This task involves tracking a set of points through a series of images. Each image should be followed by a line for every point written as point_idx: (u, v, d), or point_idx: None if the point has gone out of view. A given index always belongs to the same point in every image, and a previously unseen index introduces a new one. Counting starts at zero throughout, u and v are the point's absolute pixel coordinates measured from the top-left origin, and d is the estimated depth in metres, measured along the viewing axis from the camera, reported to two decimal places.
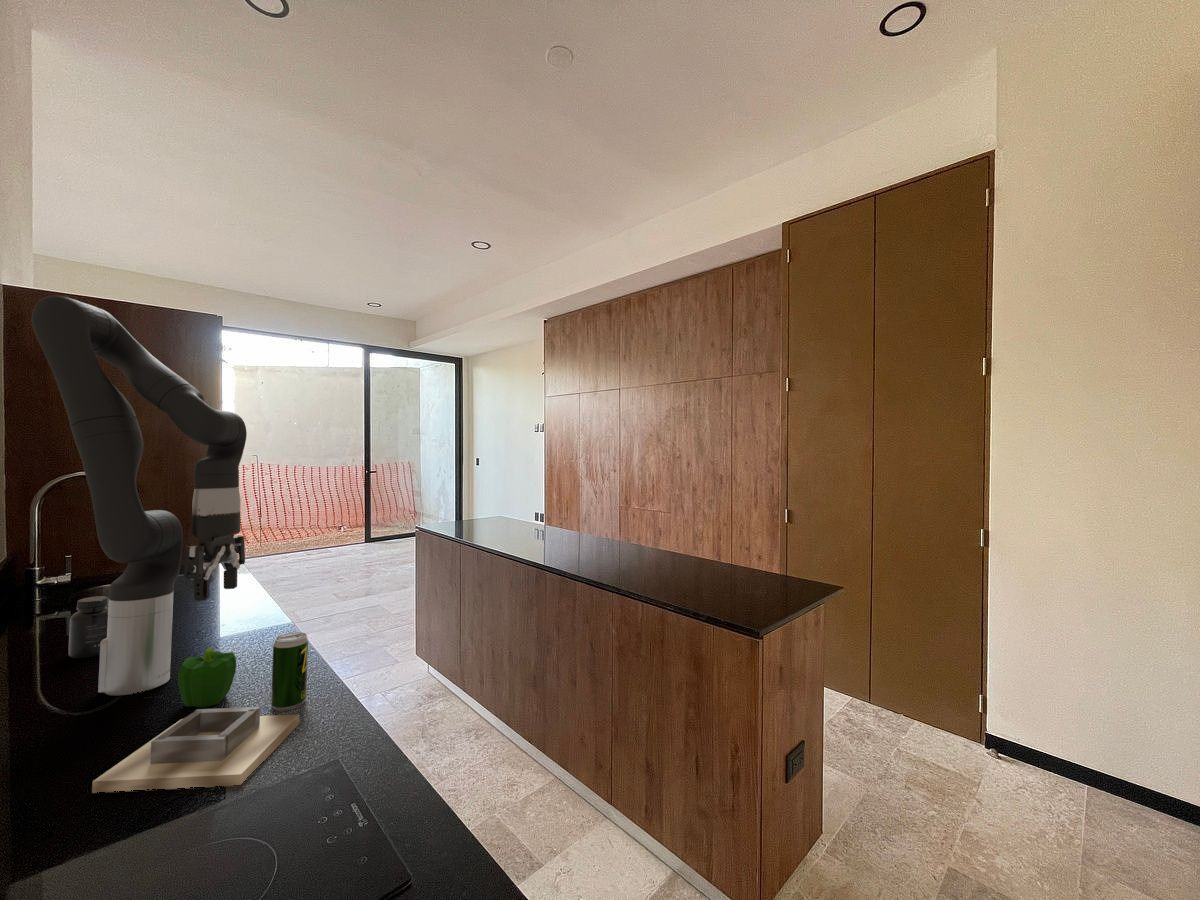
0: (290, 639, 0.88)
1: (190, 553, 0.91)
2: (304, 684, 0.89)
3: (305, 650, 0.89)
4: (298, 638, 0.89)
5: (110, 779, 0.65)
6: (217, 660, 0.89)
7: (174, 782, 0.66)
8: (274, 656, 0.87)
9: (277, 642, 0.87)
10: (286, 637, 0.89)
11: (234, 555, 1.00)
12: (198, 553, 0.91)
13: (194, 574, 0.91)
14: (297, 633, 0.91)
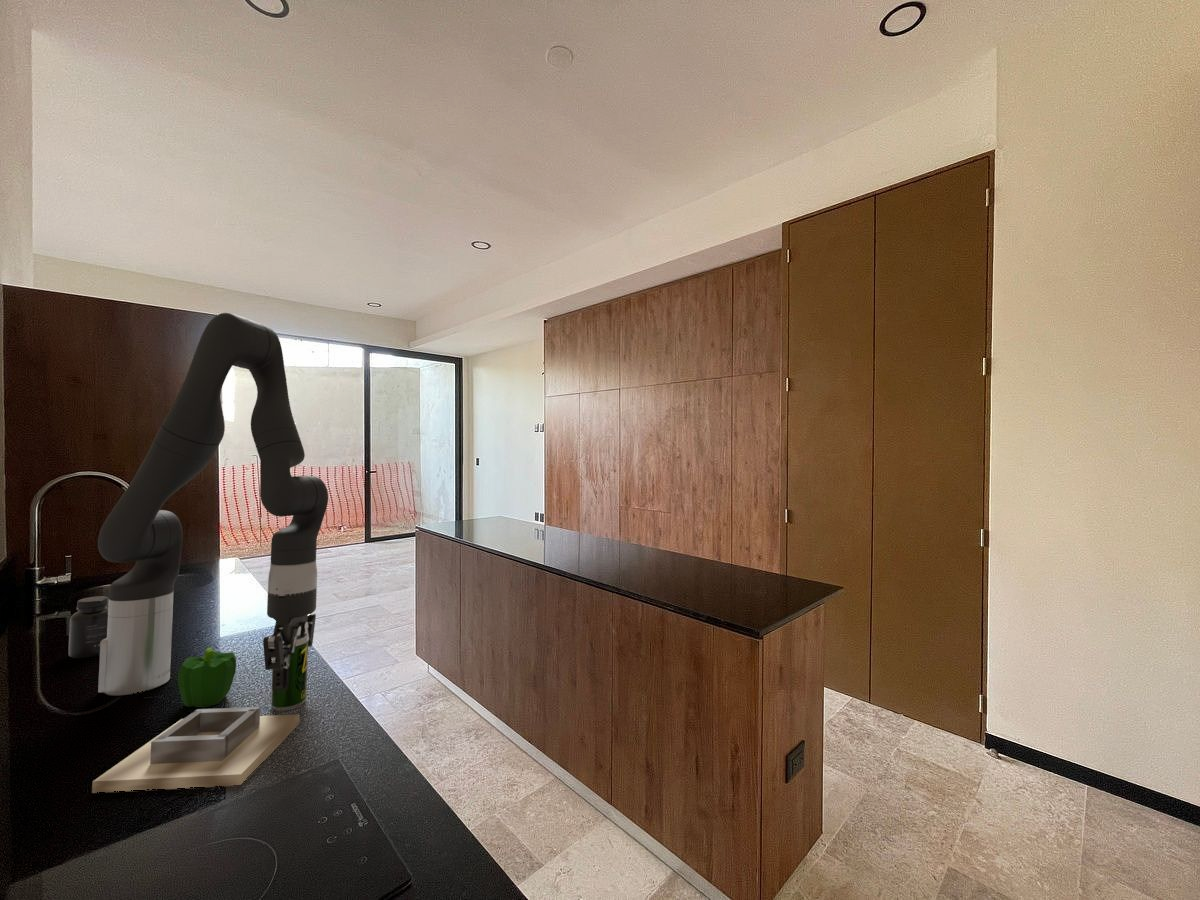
0: None
1: (269, 645, 0.83)
2: (304, 684, 0.89)
3: (305, 650, 0.89)
4: (298, 638, 0.89)
5: (110, 779, 0.65)
6: (217, 660, 0.89)
7: (174, 782, 0.66)
8: None
9: None
10: None
11: None
12: (278, 646, 0.83)
13: (276, 665, 0.84)
14: None
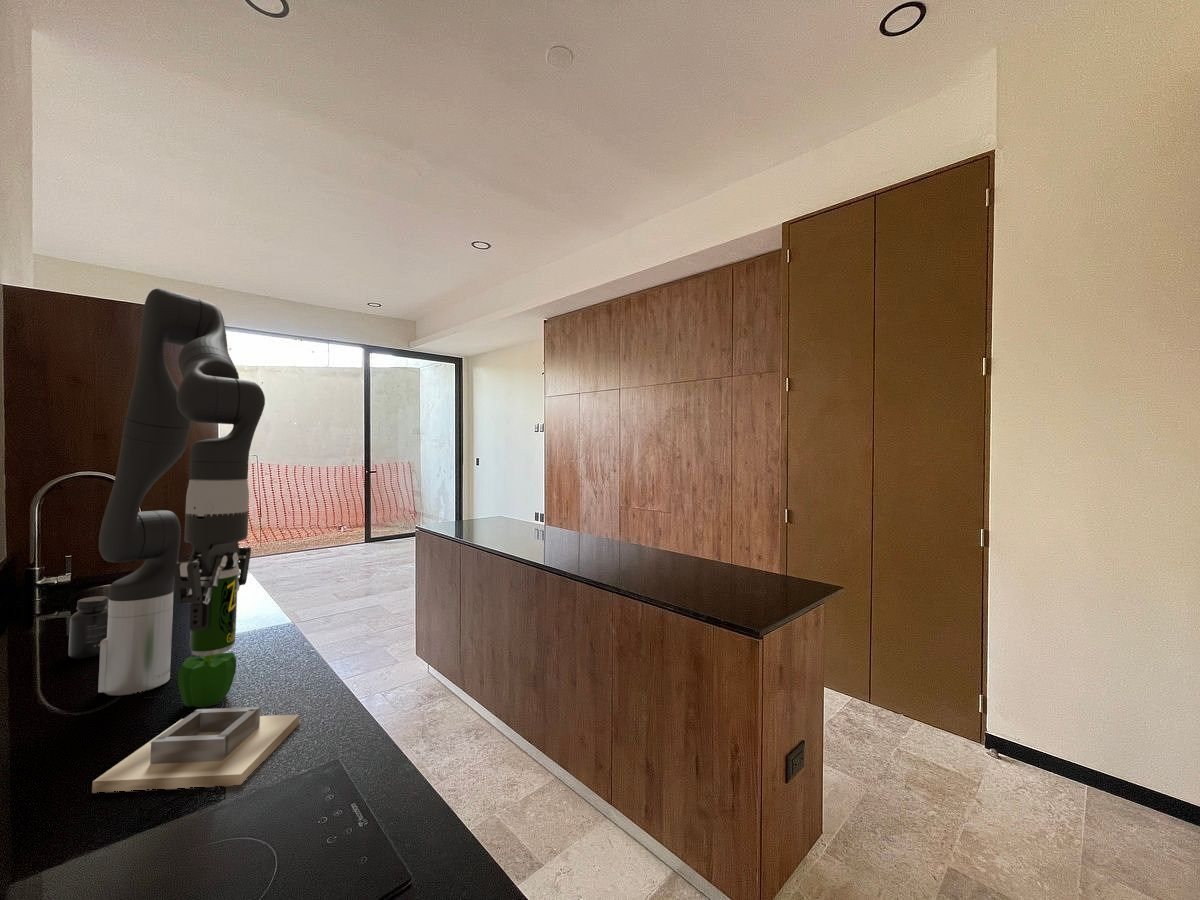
0: None
1: (181, 573, 0.68)
2: (231, 625, 0.74)
3: (233, 585, 0.74)
4: (224, 570, 0.74)
5: (110, 779, 0.65)
6: (217, 660, 0.89)
7: (174, 782, 0.66)
8: None
9: None
10: None
11: (236, 570, 0.77)
12: (192, 574, 0.68)
13: (191, 598, 0.69)
14: None
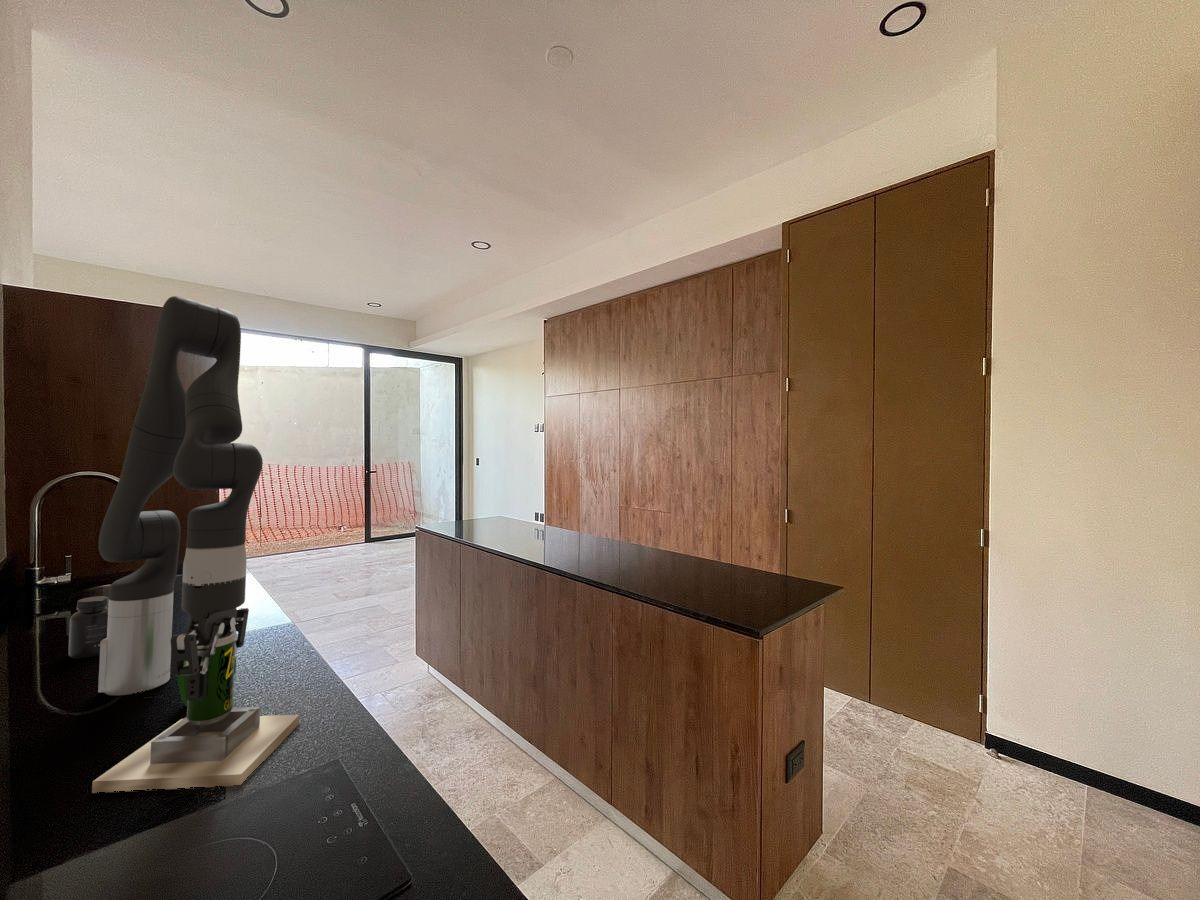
0: None
1: (178, 646, 0.68)
2: (229, 692, 0.74)
3: (230, 651, 0.74)
4: (221, 637, 0.73)
5: (110, 779, 0.65)
6: None
7: (174, 782, 0.66)
8: None
9: None
10: None
11: None
12: (189, 646, 0.68)
13: (187, 670, 0.68)
14: None
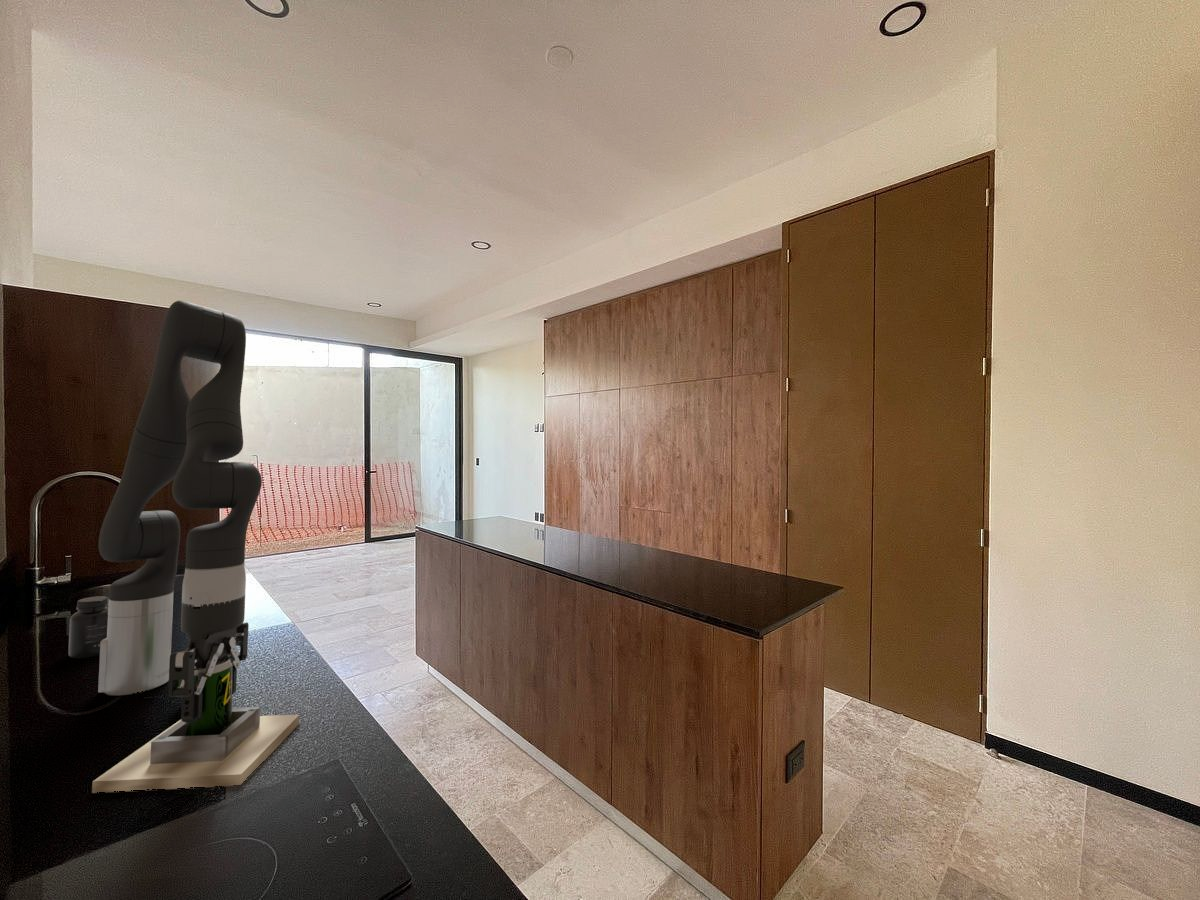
0: None
1: (176, 663, 0.67)
2: (227, 718, 0.74)
3: (227, 677, 0.74)
4: (218, 663, 0.73)
5: (110, 779, 0.65)
6: None
7: (174, 782, 0.66)
8: None
9: None
10: None
11: (234, 651, 0.77)
12: (187, 664, 0.67)
13: (182, 691, 0.67)
14: None
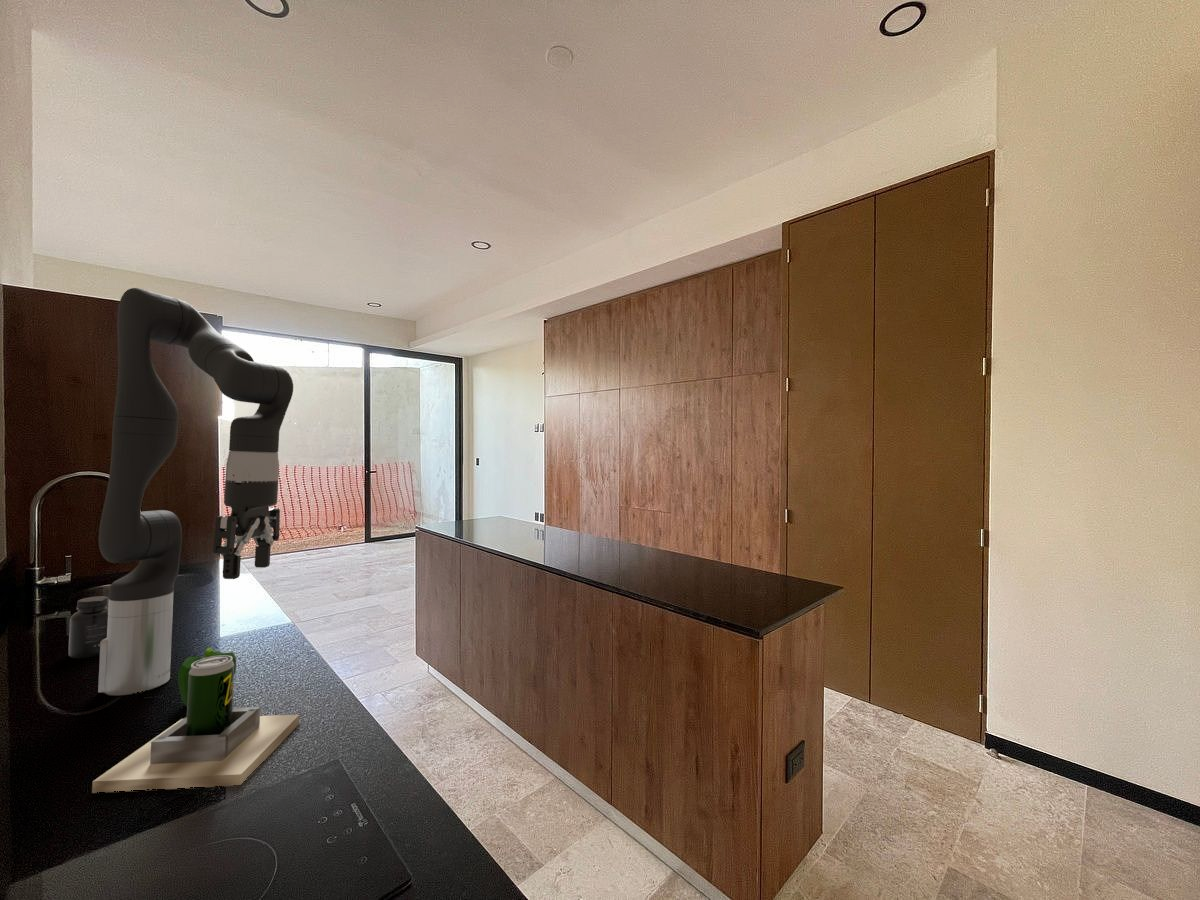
0: (210, 665, 0.73)
1: (221, 524, 0.79)
2: (228, 719, 0.74)
3: (229, 678, 0.74)
4: (220, 663, 0.73)
5: (110, 779, 0.65)
6: None
7: (174, 782, 0.66)
8: (189, 686, 0.72)
9: (193, 669, 0.72)
10: (206, 662, 0.74)
11: (268, 529, 0.88)
12: (230, 525, 0.79)
13: (224, 548, 0.79)
14: (221, 656, 0.76)
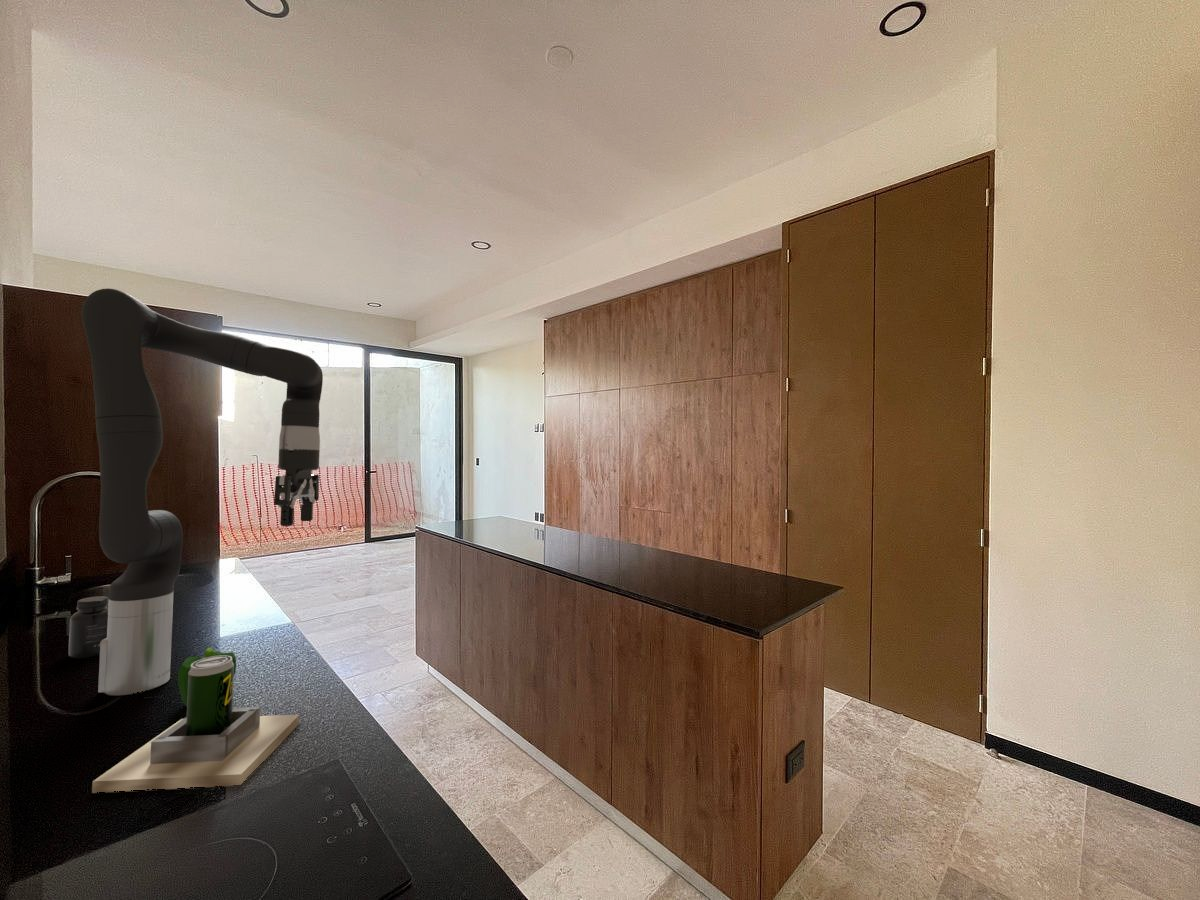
0: (209, 665, 0.73)
1: (280, 481, 1.00)
2: (228, 719, 0.74)
3: (229, 678, 0.74)
4: (220, 663, 0.73)
5: (110, 779, 0.65)
6: None
7: (174, 782, 0.66)
8: (189, 686, 0.72)
9: (193, 669, 0.72)
10: (206, 662, 0.74)
11: (312, 490, 1.10)
12: (287, 482, 1.00)
13: (283, 500, 1.00)
14: (221, 657, 0.76)
